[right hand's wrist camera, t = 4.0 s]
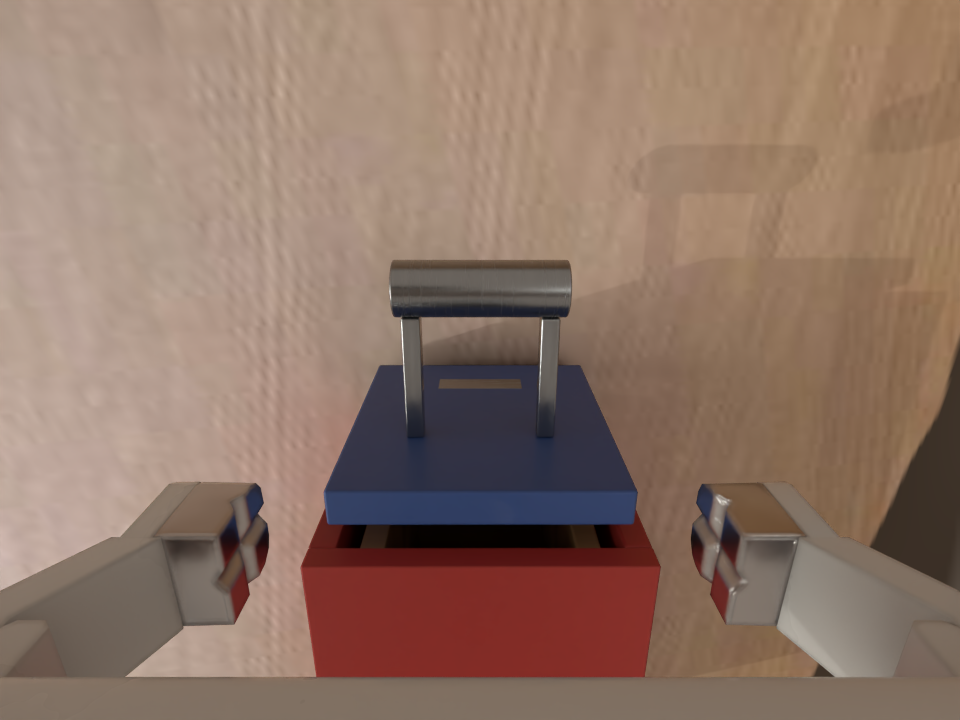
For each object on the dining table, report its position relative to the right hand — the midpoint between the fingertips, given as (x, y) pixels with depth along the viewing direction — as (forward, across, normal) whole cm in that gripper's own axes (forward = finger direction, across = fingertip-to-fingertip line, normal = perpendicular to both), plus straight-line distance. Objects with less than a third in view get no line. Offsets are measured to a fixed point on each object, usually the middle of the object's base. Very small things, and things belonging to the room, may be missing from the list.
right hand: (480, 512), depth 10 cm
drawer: (+15, 0, -10) cm, 18 cm away
